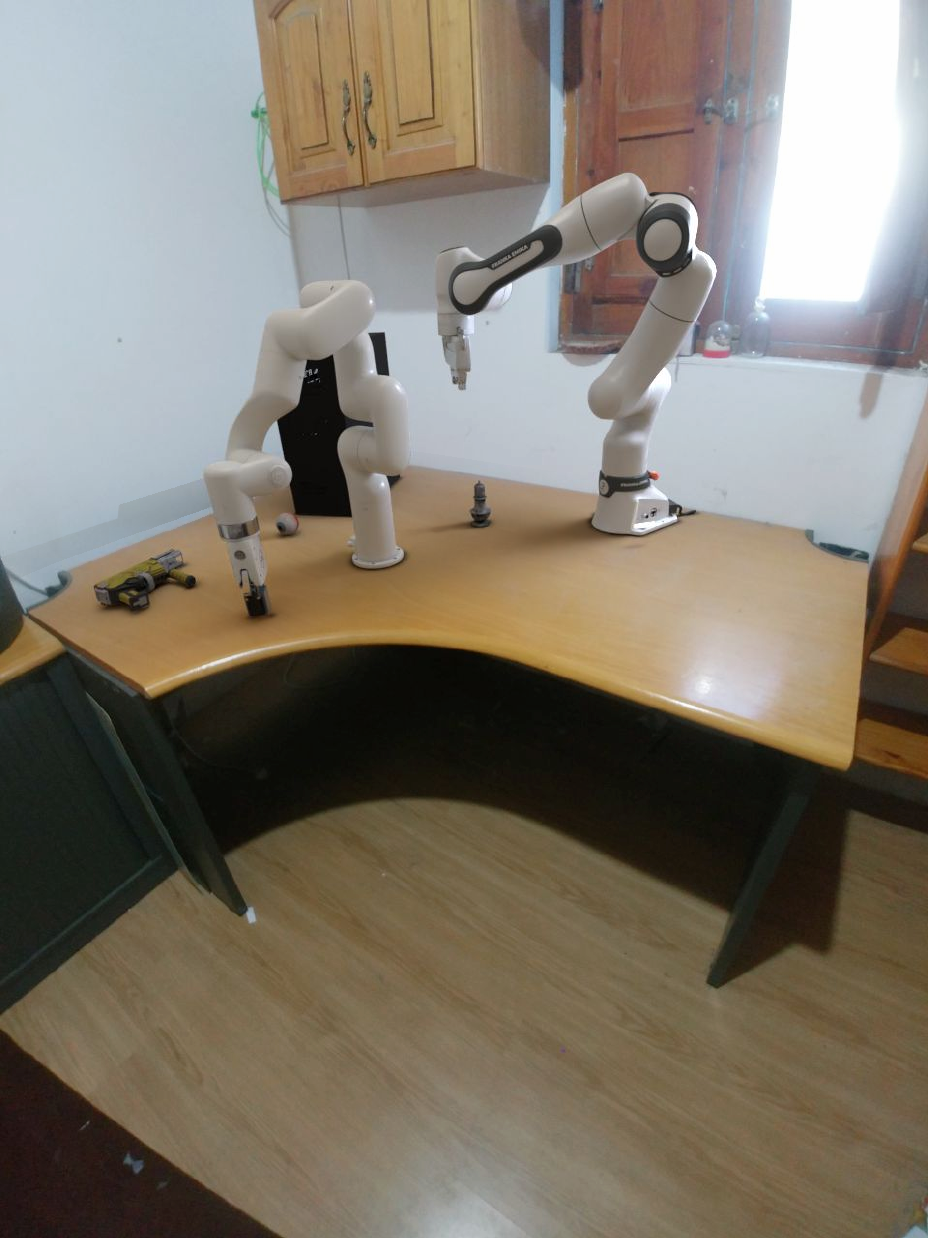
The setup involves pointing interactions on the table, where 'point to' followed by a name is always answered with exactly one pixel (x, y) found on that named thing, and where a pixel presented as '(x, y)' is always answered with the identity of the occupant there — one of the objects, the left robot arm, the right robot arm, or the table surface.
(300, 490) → the black tall box
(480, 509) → the grey chess piece
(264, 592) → the cube
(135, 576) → the toy gun
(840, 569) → the table surface
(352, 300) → the left robot arm
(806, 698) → the table surface
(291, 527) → the eyeball
